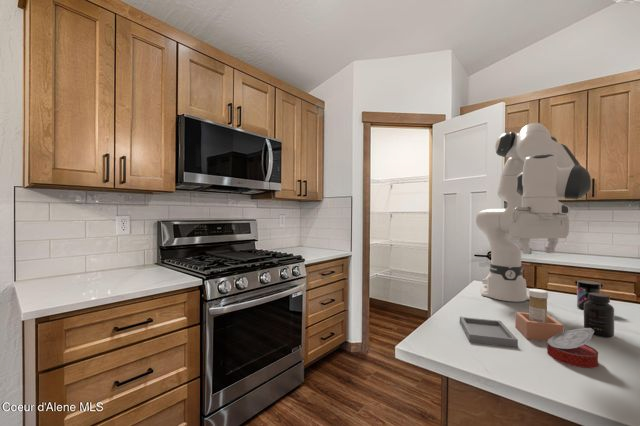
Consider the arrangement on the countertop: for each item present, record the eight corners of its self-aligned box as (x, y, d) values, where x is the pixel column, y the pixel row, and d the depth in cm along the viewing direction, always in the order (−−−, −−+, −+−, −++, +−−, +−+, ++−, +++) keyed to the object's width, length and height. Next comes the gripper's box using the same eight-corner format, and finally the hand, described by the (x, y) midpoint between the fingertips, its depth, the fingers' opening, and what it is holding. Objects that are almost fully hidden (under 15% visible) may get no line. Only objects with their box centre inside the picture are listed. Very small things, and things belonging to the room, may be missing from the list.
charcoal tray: (459, 322, 98) (459, 316, 98) (500, 327, 95) (500, 320, 95) (469, 341, 84) (469, 334, 84) (517, 347, 80) (517, 339, 80)
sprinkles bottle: (549, 335, 88) (550, 290, 88) (543, 339, 86) (544, 292, 86) (532, 330, 92) (532, 287, 92) (525, 333, 90) (526, 289, 90)
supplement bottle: (584, 327, 95) (584, 290, 95) (614, 333, 90) (614, 294, 90) (582, 333, 90) (583, 294, 90) (614, 340, 86) (614, 299, 86)
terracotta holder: (515, 327, 94) (515, 311, 94) (548, 330, 92) (548, 314, 92) (526, 338, 86) (526, 321, 86) (563, 343, 83) (563, 325, 83)
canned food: (586, 388, 70) (580, 356, 67) (540, 363, 79) (533, 335, 76) (612, 359, 73) (607, 328, 70) (565, 339, 82) (559, 310, 79)
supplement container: (579, 305, 119) (579, 279, 119) (602, 309, 114) (602, 282, 114) (574, 308, 115) (574, 281, 115) (597, 313, 110) (598, 285, 110)
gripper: (523, 206, 83) (523, 255, 83) (574, 208, 89) (573, 254, 89) (503, 207, 89) (503, 252, 89) (552, 208, 95) (551, 251, 95)
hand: (538, 253), depth 89 cm, fingers open, 8 cm apart
